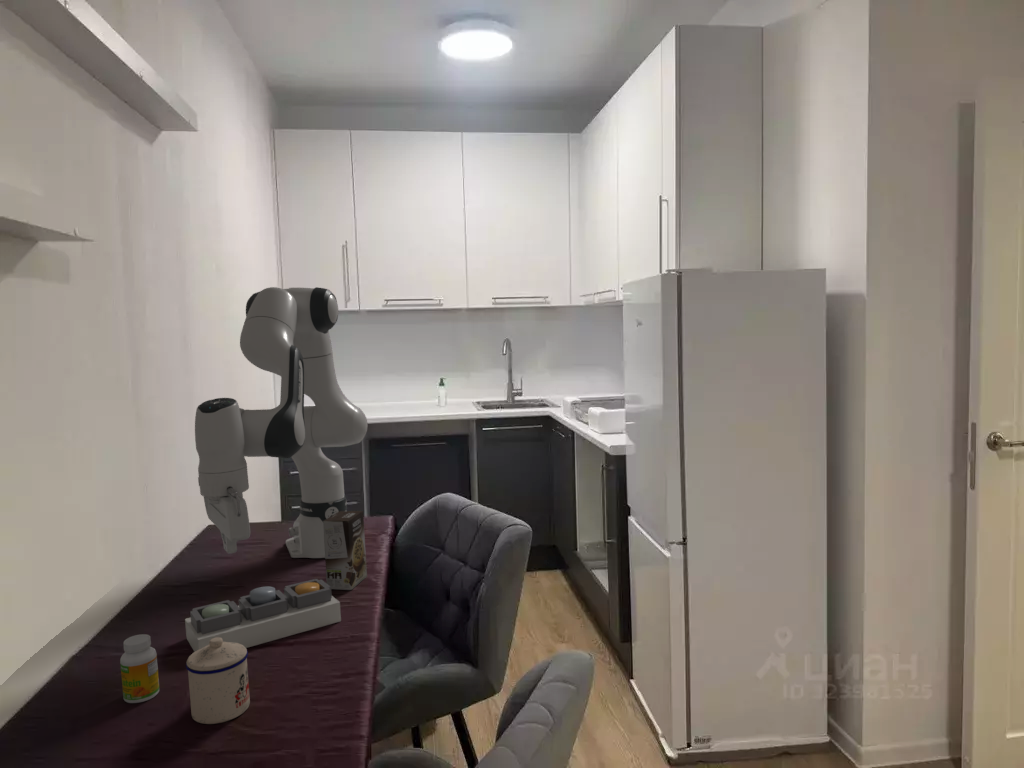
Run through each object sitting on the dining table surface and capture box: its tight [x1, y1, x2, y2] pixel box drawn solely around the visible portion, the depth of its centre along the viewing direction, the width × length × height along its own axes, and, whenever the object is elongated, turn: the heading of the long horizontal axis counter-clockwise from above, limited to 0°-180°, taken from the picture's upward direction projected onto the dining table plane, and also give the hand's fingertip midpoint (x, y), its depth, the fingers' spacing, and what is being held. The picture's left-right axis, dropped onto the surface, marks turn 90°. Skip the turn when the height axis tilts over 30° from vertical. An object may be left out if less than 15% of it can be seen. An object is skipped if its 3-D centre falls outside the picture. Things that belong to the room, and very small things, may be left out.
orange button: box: [295, 582, 320, 595], centre depth 149 cm, size 5×5×2 cm
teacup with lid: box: [185, 637, 251, 725], centre depth 116 cm, size 12×9×12 cm
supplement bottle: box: [119, 633, 160, 704], centre depth 120 cm, size 5×5×10 cm
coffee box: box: [323, 510, 368, 591], centre depth 168 cm, size 9×6×16 cm
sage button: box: [202, 604, 229, 619], centre depth 139 cm, size 5×5×2 cm
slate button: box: [249, 586, 276, 605], centre depth 144 cm, size 5×5×2 cm
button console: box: [184, 578, 342, 653], centre depth 144 cm, size 12×27×6 cm, turn 125°
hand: (230, 551), depth 142 cm, fingers closed
